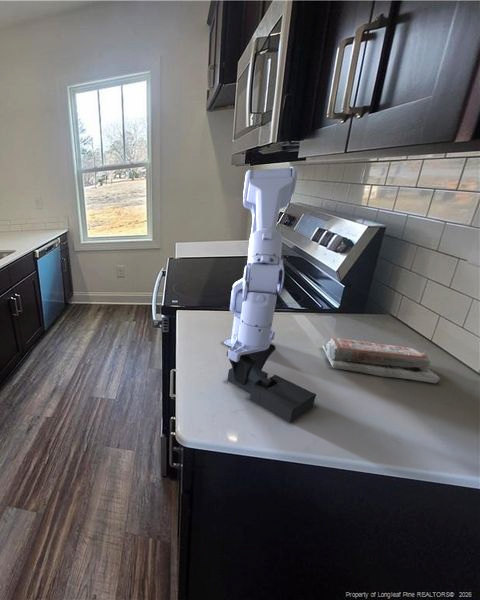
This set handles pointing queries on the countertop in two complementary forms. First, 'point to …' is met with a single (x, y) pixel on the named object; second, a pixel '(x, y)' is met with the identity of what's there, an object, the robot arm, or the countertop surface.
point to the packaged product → (379, 359)
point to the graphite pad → (252, 379)
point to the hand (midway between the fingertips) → (247, 377)
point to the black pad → (283, 398)
